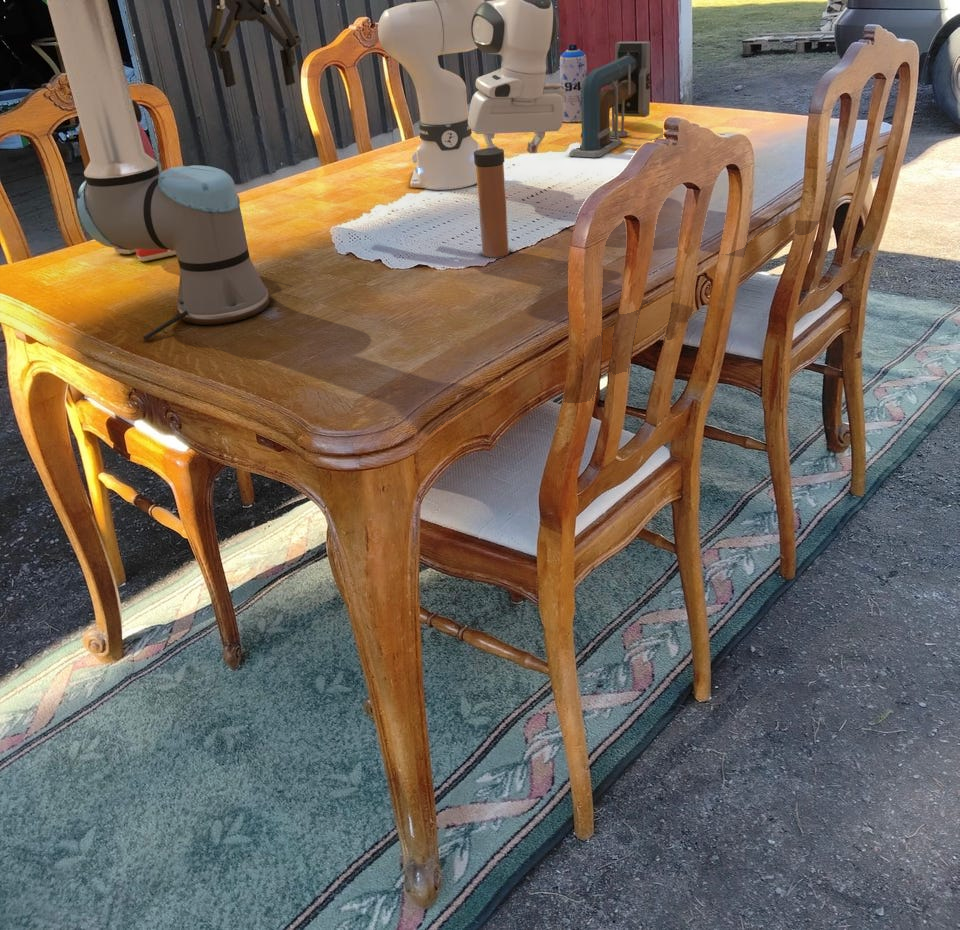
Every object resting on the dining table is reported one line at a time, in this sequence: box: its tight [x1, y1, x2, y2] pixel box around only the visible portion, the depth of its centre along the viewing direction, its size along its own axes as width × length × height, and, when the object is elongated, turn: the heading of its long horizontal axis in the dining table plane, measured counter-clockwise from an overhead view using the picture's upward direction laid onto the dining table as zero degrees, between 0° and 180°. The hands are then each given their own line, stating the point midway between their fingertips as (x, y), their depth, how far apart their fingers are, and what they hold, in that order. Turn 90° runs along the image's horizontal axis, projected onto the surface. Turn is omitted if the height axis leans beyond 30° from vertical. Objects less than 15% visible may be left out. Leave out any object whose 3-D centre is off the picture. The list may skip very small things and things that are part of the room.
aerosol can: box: [559, 43, 588, 123], centre depth 273 cm, size 8×8×20 cm
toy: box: [78, 99, 177, 262], centre depth 190 cm, size 21×10×30 cm, turn 47°
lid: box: [474, 147, 505, 166], centre depth 172 cm, size 5×5×2 cm
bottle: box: [476, 162, 510, 258], centre depth 177 cm, size 5×5×18 cm
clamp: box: [568, 41, 651, 158], centre depth 246 cm, size 35×9×21 cm, turn 151°
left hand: (260, 85), depth 196 cm, fingers open, 13 cm apart
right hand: (511, 153), depth 197 cm, fingers open, 8 cm apart
